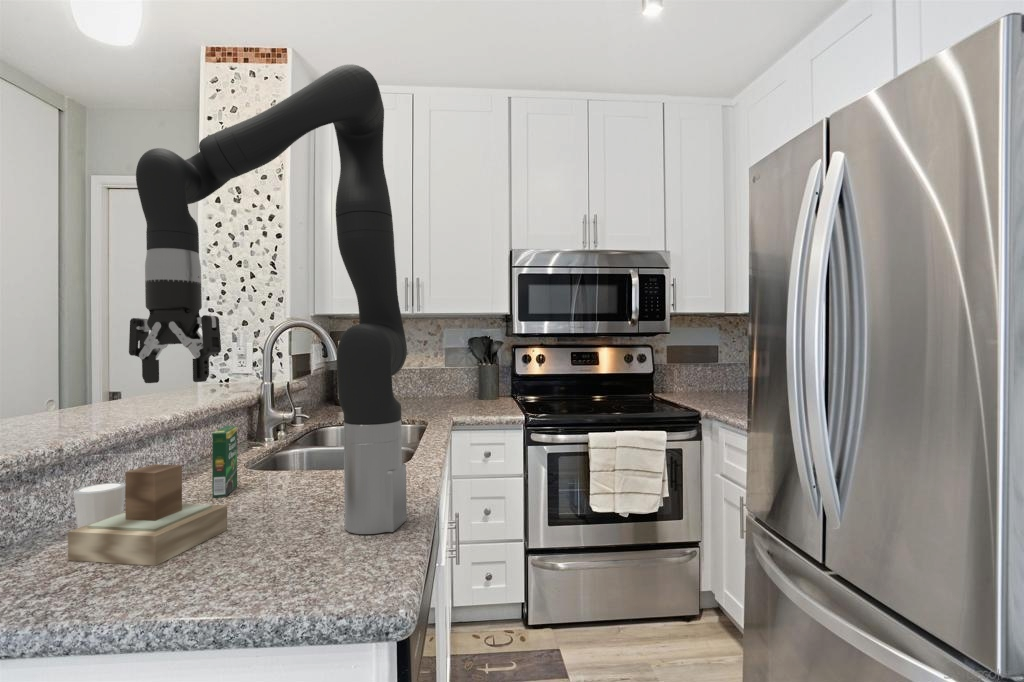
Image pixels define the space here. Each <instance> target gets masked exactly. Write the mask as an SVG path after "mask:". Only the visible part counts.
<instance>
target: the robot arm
mask: <svg viewBox="0 0 1024 682" xmlns="http://www.w3.org/2000/svg"><path fill="white" fill-rule="evenodd" d="M384 123H385V108H384V102H383V97H382V94H381V91H380V87H379V84H378V81H377V80H376V78H375V77H374V75H373V74H372V72H370V71H369V70H367V68H365V67H363V66H360V65H356V64H343V65H340V66H337V67H334V68H333V69H331V70H329V71H327V72H326V73H324V74H322V75H321V76H320V77H318V78H316V79H315V80H313V81H312V82H310V83H309V84H308V85H306V86H304V87H303V88H301V89H299V90H298V91H296V92H294V93H293V94H292V95H290V96H288V97H286V98H285V99H283V100H282V101H280V102H278V103H276V104H275V105H273V106H271V107H270V108H268V109H266V110H264V111H262V112H260V113H259V114H256V115H254V116H252V117H250V118H248V119H246V120H243V121H240V122H238V123H235V124H234V125H233V124H232V125H231V126H229V127H226V128H223V129H221V130H219V131H218V130H217V131H216V132H214V133H212V134H209V135H207V136H206V137H205V136H204V138H202V139H201V140H200V141H199V143H198V144H199V145H198V149H199V152H196V154H194V155H192V156H191V157H189V158H187V159H184V158H182V156H180V155H178V154H177V153H176V152H175V151H171V150H170V149H166V148H162V147H158V148H152V149H151V148H150V149H149V150H148V151H146V152H144V153H143V154H142V155H141V157H140V158H139V160H138V163H137V166H136V170H135V181H136V188H137V191H138V197H139V200H140V205H141V209H142V212H143V215H144V218H145V221H146V231H145V232H146V256H145V262H144V284H145V290H144V292H145V295H144V296H145V308H146V309H147V310H148V311H149V317H148V318H142V317H137V318H135V317H132V318H131V319H130V320H129V334H128V335H129V337H128V342H129V343H128V354H129V355H130V356H135V357H137V358H139V359H140V360H141V377H142V379H143V380H142V381H143V382H144V383H145V384H155V383H159V382H160V359H157V358H158V357H159V356H160V354H161V352H162V351H163V350H164V349H166V348H167V347H168V346H169V345H182V346H184V348H187V349H188V351H189V352H190V354H191V355H193V358H192V381H193V382H194V383H204V382H205V383H206V382H207V380H208V378H209V376H210V357H211V356H214V355H216V354H219V353H221V352H222V342H221V341H222V340H221V328H220V318H219V317H218V315H217V316H216V315H205V314H203V315H202V316H201V315H200V311H201V309H202V308H203V307H202V305H203V301H202V300H203V299H202V295H203V293H202V292H203V291H202V266H201V260H200V246H199V245H200V241H199V240H200V237H199V234H200V233H199V227H198V226H199V225H198V223H197V222H196V220H195V218H194V217H192V215H191V213H190V210H189V209H190V208H189V205H190V204H195V203H197V202H199V201H202V200H204V199H206V198H207V197H209V196H211V195H212V194H214V193H215V192H216V191H218V190H219V189H220V188H222V187H224V186H225V185H226V184H227V183H228V182H229V181H231V180H232V179H235V178H237V177H240V176H242V175H245V174H248V173H250V172H252V171H254V170H256V169H258V168H260V167H263V166H265V165H267V164H268V163H271V162H272V161H273V160H276V159H277V158H278V157H279V156H280V155H282V154H283V153H284V152H285V151H287V150H288V149H289V147H290V146H292V145H293V144H295V142H297V141H298V140H299V139H301V138H302V137H304V136H305V135H307V134H308V133H310V132H312V131H314V130H316V129H318V128H320V127H323V126H327V125H331V124H333V126H334V131H335V136H336V141H337V147H338V153H339V154H338V155H339V163H340V171H339V178H338V179H339V180H338V183H337V184H338V185H337V190H336V197H335V198H336V199H335V224H336V225H335V226H336V236H337V237H336V238H337V243H338V244H337V245H338V248H339V254H340V256H341V259H342V261H343V264H344V267H345V269H346V272H347V275H348V276H349V279H350V281H351V285H352V287H353V289H354V291H355V292H354V293H355V295H356V296H355V297H356V299H357V301H356V302H357V306H358V318H359V321H358V322H359V323H358V324H355V325H352V326H350V327H349V328H348V329H347V330H345V331H344V332H343V334H342V335H341V336H340V338H339V341H338V344H337V350H336V375H337V378H336V379H337V394H338V402H339V406H340V408H341V410H342V413H343V473H344V474H343V477H344V478H343V484H344V487H343V488H344V495H343V496H344V501H343V502H344V514H343V515H344V530H346V532H348V533H352V534H356V535H374V534H382V533H393V532H395V531H396V530H398V528H399V527H400V526H402V525H403V524H404V523H405V522H406V521H407V518H408V516H407V503H408V502H407V500H408V499H407V498H408V497H407V464H406V463H403V458H402V457H403V454H402V453H403V452H402V450H403V449H402V444H403V443H402V442H403V441H402V405H401V403H400V402H399V401H398V400H397V399H396V397H395V395H394V389H393V376H395V375H396V374H397V373H399V372H400V371H401V369H402V368H403V366H404V365H405V362H406V359H407V355H408V353H407V352H408V348H407V345H408V344H407V340H406V333H405V329H404V324H403V319H402V313H401V308H400V302H399V295H398V294H399V293H398V282H397V281H398V280H397V279H398V277H397V264H396V253H395V234H394V221H393V212H392V206H391V205H392V204H391V198H390V197H391V196H390V191H389V186H388V182H387V178H386V173H385V166H384V128H385V126H384V125H385V124H384ZM199 329H201V334H200V332H199Z"/></svg>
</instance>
